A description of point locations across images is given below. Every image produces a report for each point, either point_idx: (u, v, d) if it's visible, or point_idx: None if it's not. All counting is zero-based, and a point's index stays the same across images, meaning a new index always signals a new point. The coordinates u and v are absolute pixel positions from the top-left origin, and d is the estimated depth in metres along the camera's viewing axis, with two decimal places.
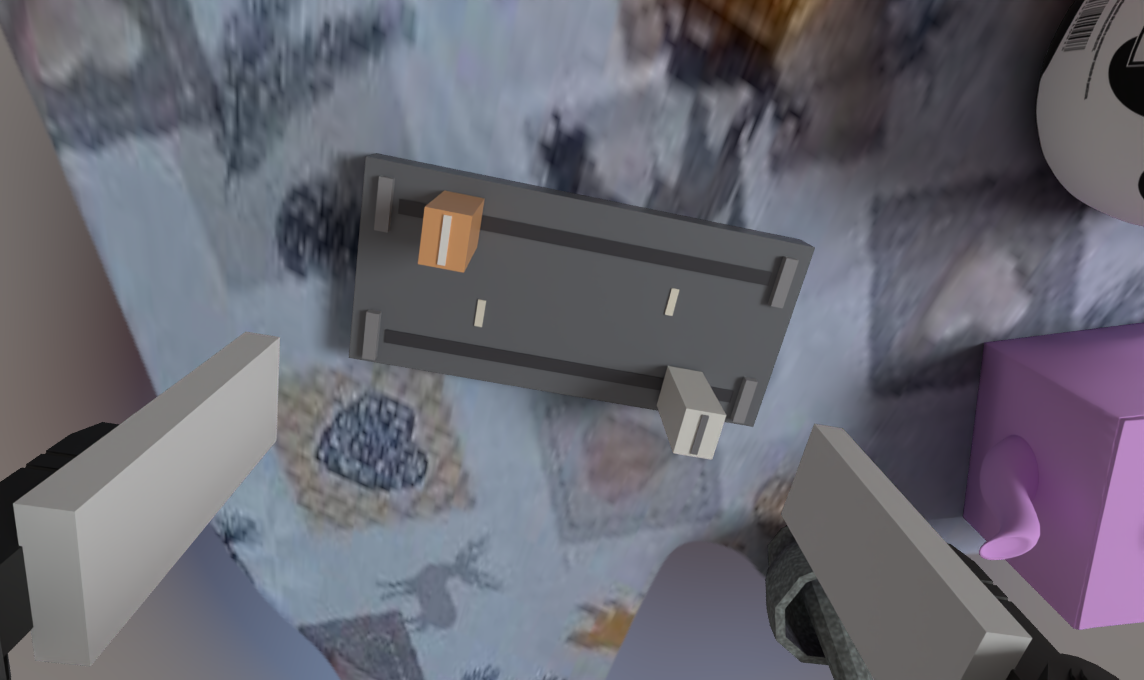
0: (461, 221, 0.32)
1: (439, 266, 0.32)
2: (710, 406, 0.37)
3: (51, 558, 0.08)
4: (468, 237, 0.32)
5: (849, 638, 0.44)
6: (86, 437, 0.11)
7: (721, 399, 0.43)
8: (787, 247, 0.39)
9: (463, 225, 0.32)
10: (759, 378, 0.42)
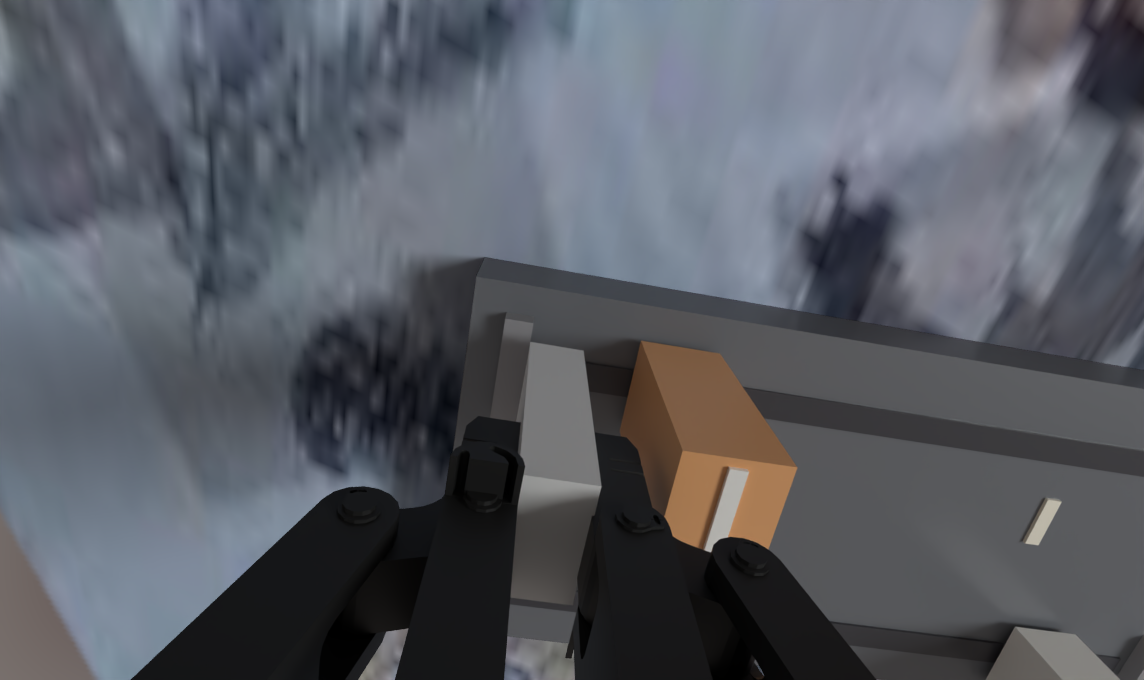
0: (768, 479, 0.13)
1: None
2: None
3: (533, 515, 0.11)
4: None
5: None
6: (480, 427, 0.13)
7: None
8: None
9: (772, 488, 0.13)
10: None
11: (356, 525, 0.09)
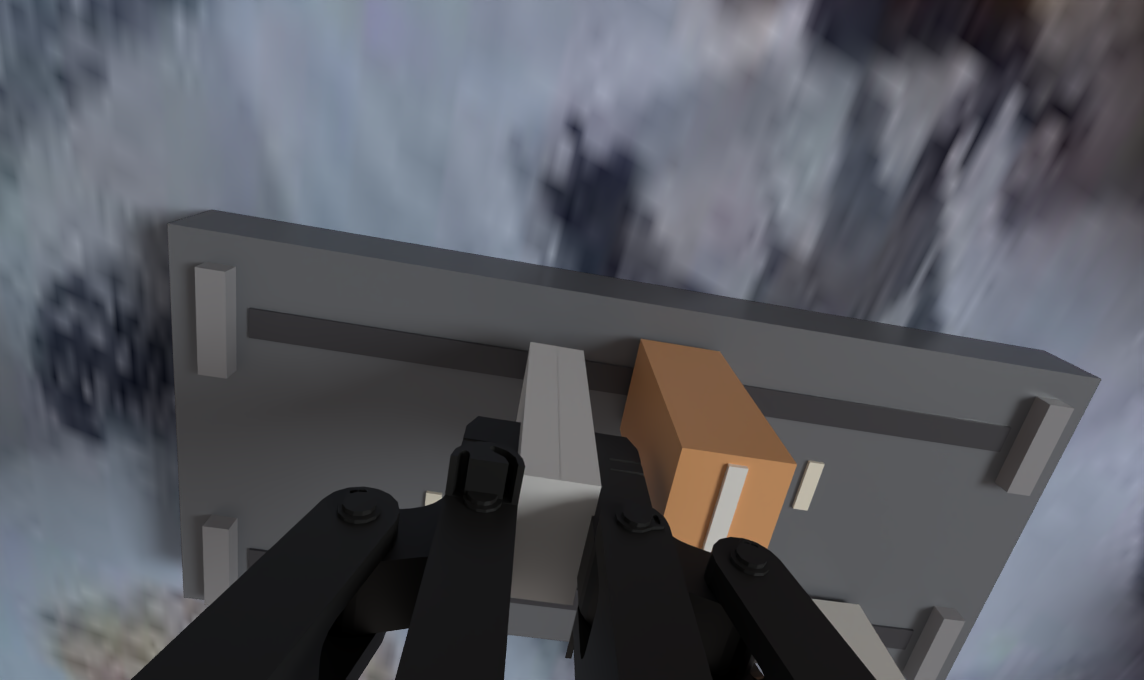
0: (768, 476, 0.13)
1: None
2: None
3: (532, 516, 0.11)
4: (777, 508, 0.13)
5: None
6: (480, 427, 0.13)
7: (889, 643, 0.23)
8: (1045, 380, 0.19)
9: (771, 485, 0.13)
10: (963, 608, 0.23)
11: (356, 525, 0.09)
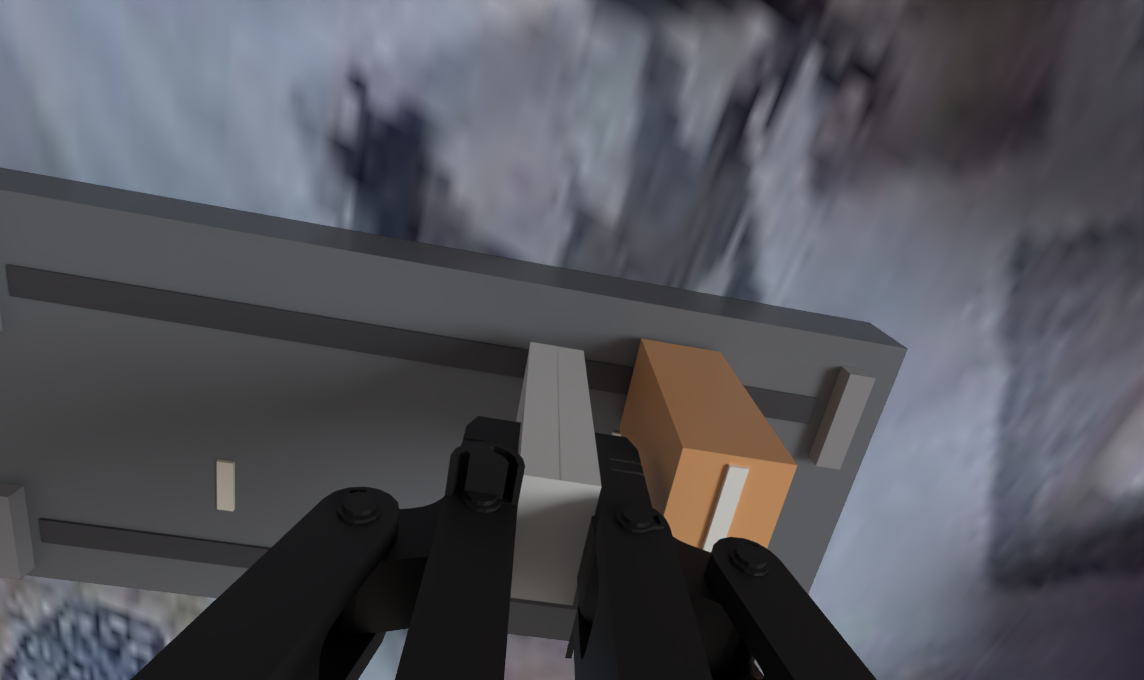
0: (768, 477, 0.13)
1: None
2: None
3: (533, 516, 0.11)
4: (777, 508, 0.13)
5: None
6: (479, 427, 0.13)
7: None
8: (849, 349, 0.19)
9: (771, 485, 0.13)
10: None
11: (356, 525, 0.09)
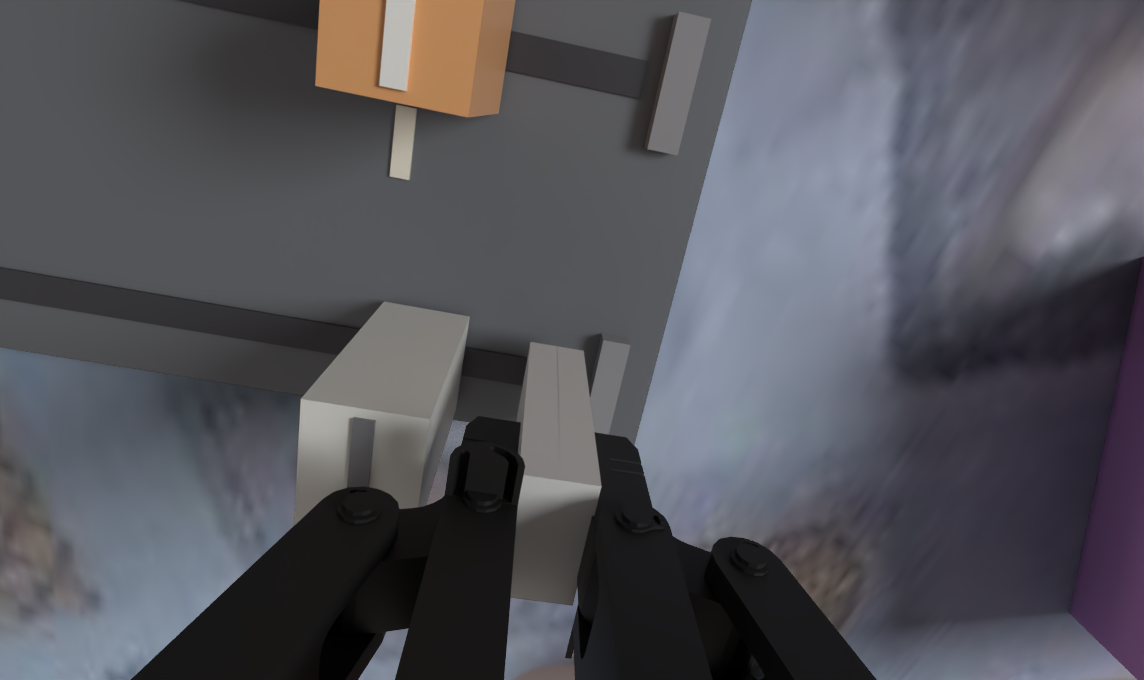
0: None
1: (387, 94, 0.10)
2: (397, 394, 0.12)
3: (533, 515, 0.11)
4: None
5: None
6: (480, 428, 0.13)
7: None
8: None
9: None
10: (638, 337, 0.18)
11: (356, 525, 0.09)
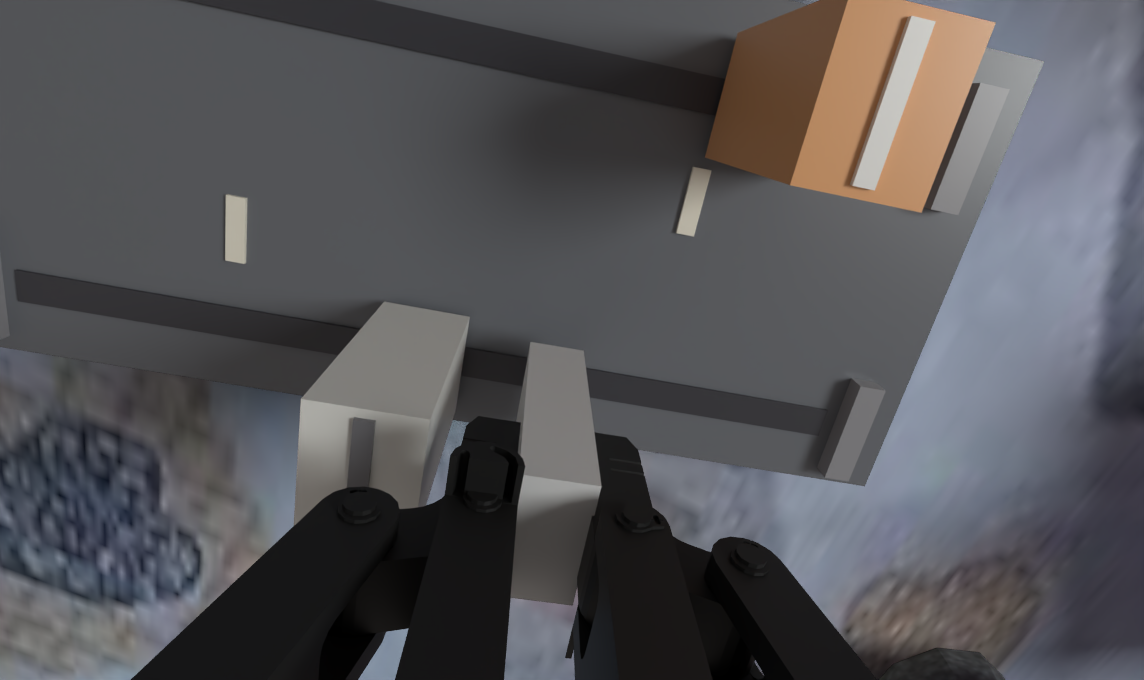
0: (956, 41, 0.10)
1: (853, 193, 0.11)
2: (397, 395, 0.12)
3: (533, 516, 0.11)
4: (960, 98, 0.10)
5: None
6: (480, 428, 0.13)
7: (799, 428, 0.20)
8: None
9: (959, 56, 0.10)
10: (885, 382, 0.19)
11: (356, 525, 0.09)
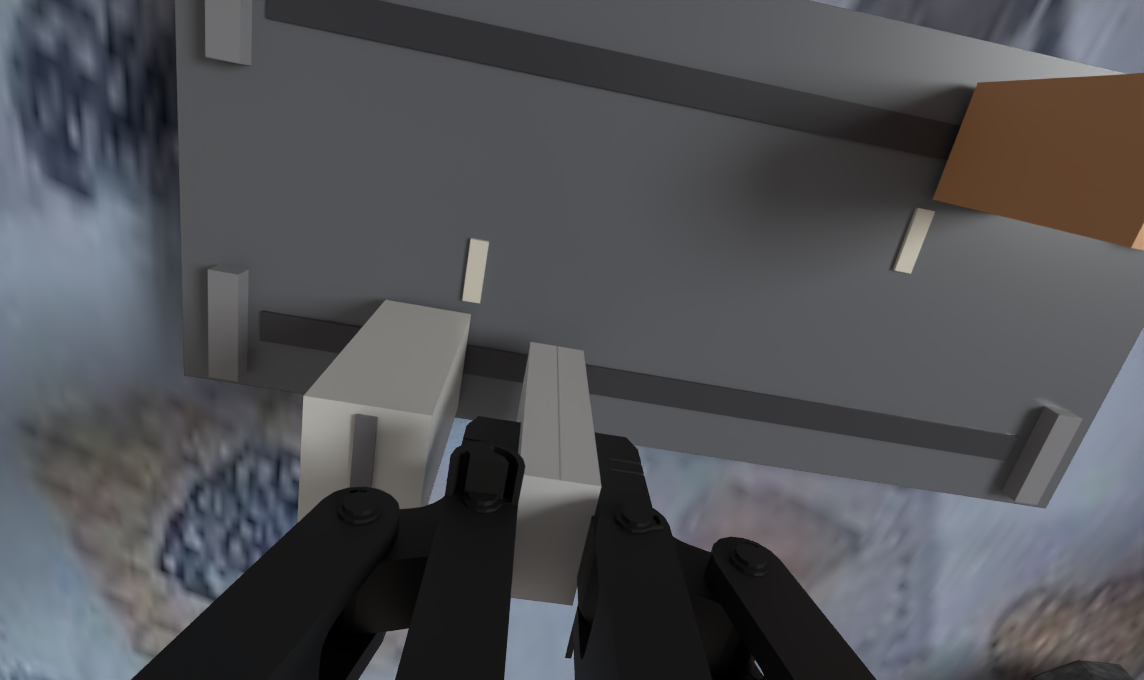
0: None
1: None
2: (399, 391, 0.13)
3: (533, 515, 0.11)
4: None
5: None
6: (480, 428, 0.13)
7: (989, 453, 0.20)
8: None
9: None
10: (1076, 409, 0.20)
11: (356, 525, 0.09)
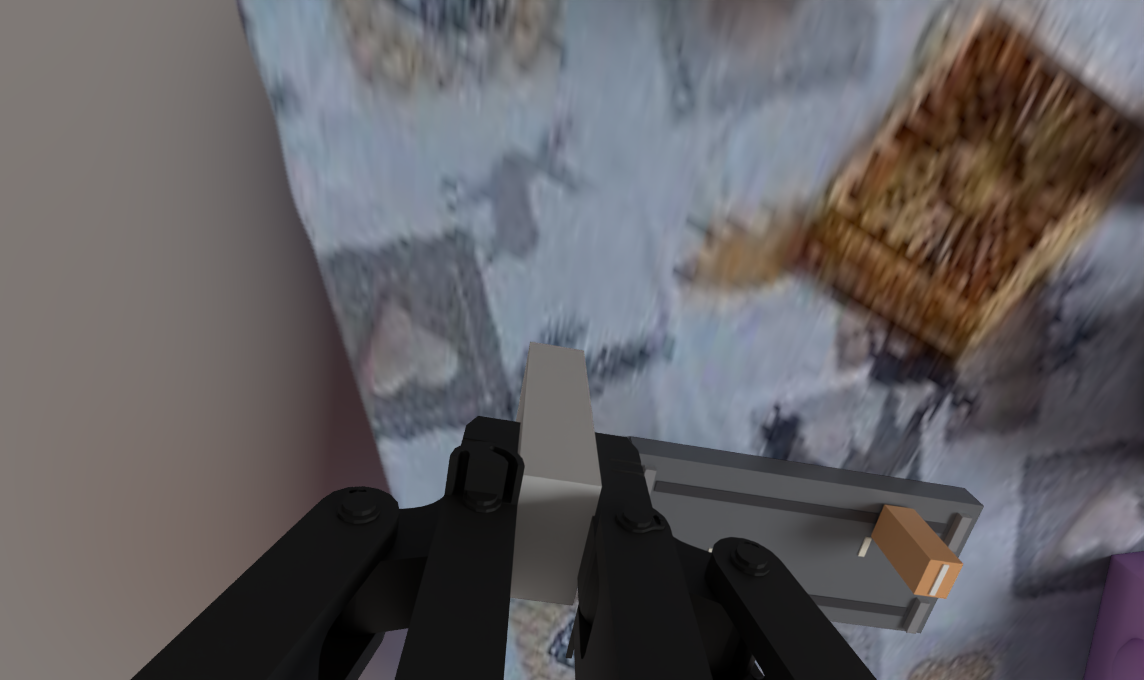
0: (954, 567, 0.42)
1: (929, 595, 0.43)
2: None
3: (532, 516, 0.11)
4: (955, 576, 0.43)
5: None
6: (479, 427, 0.13)
7: (897, 613, 0.52)
8: (961, 506, 0.48)
9: (955, 570, 0.42)
10: (929, 598, 0.52)
11: (356, 525, 0.09)
